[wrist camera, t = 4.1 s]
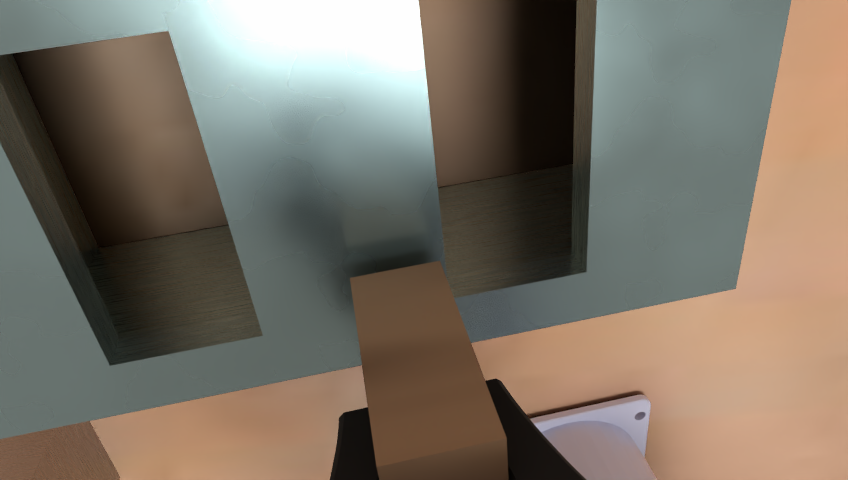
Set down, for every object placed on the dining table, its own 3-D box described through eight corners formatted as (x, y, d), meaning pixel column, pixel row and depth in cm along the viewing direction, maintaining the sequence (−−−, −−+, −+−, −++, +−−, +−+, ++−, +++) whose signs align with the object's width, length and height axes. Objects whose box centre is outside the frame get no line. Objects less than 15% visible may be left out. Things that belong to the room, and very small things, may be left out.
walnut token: (457, 417, 16) (514, 610, 12) (381, 433, 16) (414, 635, 12) (440, 260, 14) (506, 437, 9) (349, 277, 13) (376, 467, 9)
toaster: (618, 181, 22) (735, 288, 17) (79, 279, 21) (-9, 440, 15) (639, -140, 17) (819, -151, 11) (-79, -49, 15) (-312, -5, 9)
